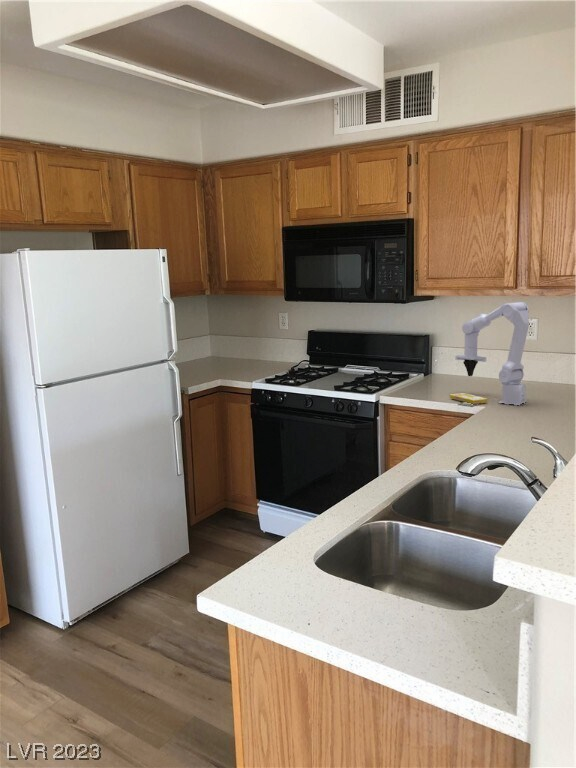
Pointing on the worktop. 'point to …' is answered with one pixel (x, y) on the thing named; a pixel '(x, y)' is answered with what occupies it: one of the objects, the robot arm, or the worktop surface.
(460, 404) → the mat
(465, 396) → the candy box
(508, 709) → the worktop surface
